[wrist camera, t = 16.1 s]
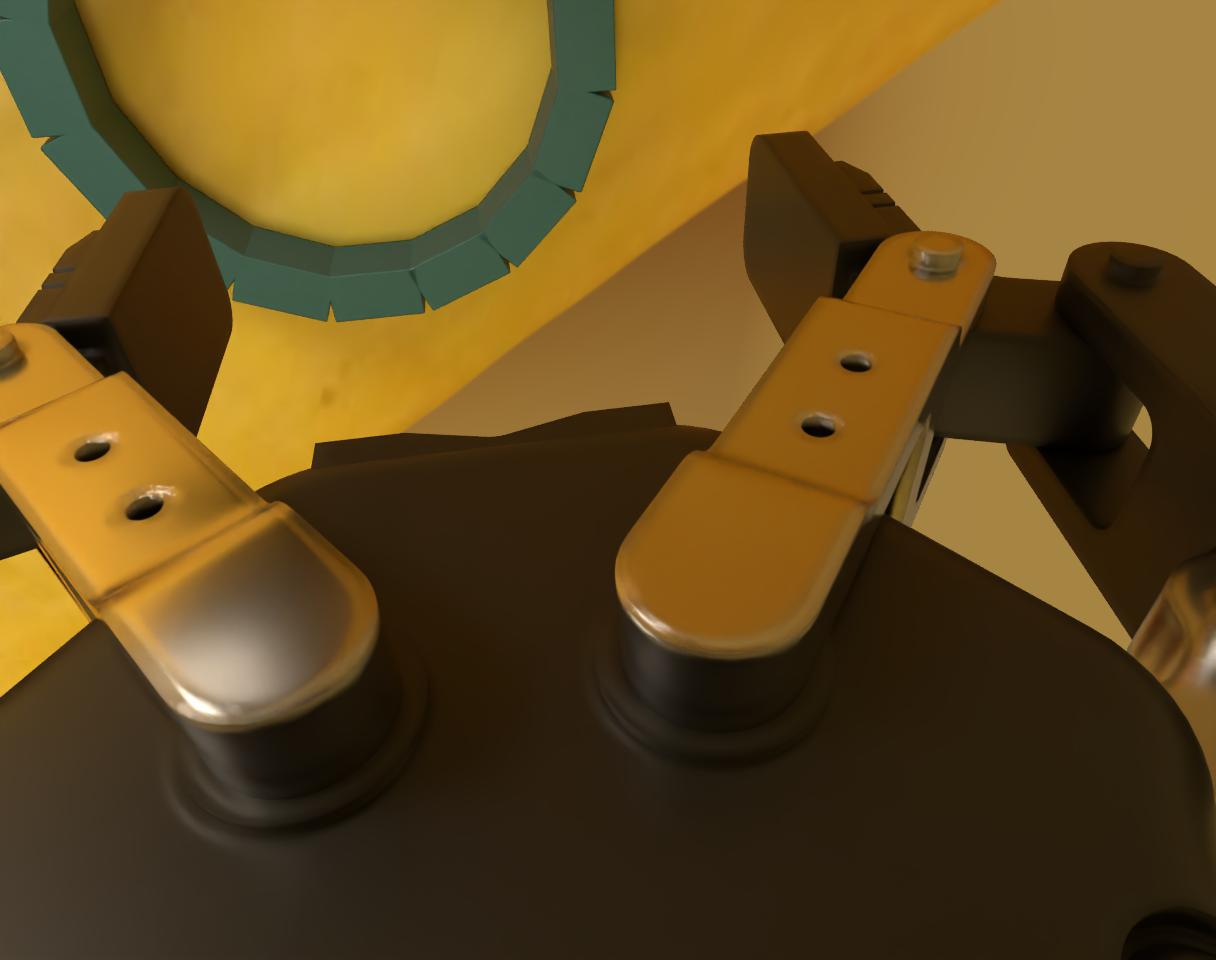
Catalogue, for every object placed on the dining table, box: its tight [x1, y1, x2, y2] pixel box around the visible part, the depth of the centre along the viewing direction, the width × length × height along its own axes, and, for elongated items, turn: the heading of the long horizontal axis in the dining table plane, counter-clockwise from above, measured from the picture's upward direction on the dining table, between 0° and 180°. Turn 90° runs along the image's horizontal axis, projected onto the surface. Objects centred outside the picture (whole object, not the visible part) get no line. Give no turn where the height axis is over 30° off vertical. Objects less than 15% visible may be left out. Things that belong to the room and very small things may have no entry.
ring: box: [0, 0, 616, 322], centre depth 35 cm, size 23×23×3 cm
